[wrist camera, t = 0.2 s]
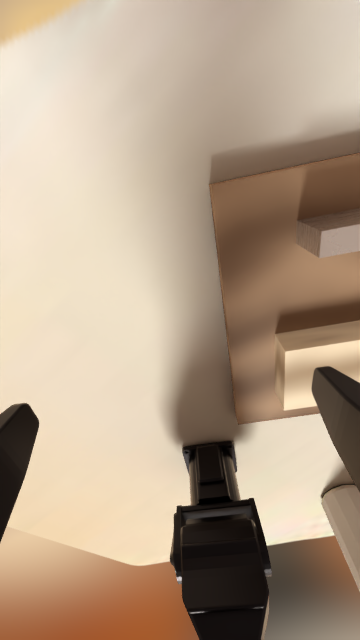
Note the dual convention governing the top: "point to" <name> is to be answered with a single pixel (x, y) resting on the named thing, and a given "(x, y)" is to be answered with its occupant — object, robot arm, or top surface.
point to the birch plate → (313, 359)
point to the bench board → (280, 271)
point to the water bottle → (345, 523)
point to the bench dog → (330, 233)
